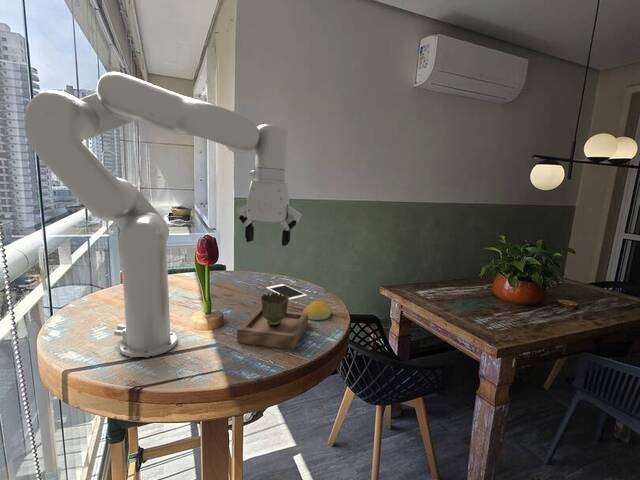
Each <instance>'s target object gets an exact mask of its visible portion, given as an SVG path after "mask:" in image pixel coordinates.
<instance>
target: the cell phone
mask: <svg viewBox="0 0 640 480" xmlns="http://www.w3.org/2000/svg"><path fill="white" fill-rule="evenodd" d="M266 289H267V290H270V291H271V292H272V293H274V294H275V293H278V295H279V294H280V293H281V294H282V295H284V294H286V295H287V296H288V297H289V300H288V301H291V300H295V299H300V298H304V297H308V294H306V293H303V292H302V291H300V290H297V289H296V288H292V287H291V286H288V285H286V284H284V283H280V284H276V285H275V284H274V285H272V286H271V285H270V286H266Z"/></svg>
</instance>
